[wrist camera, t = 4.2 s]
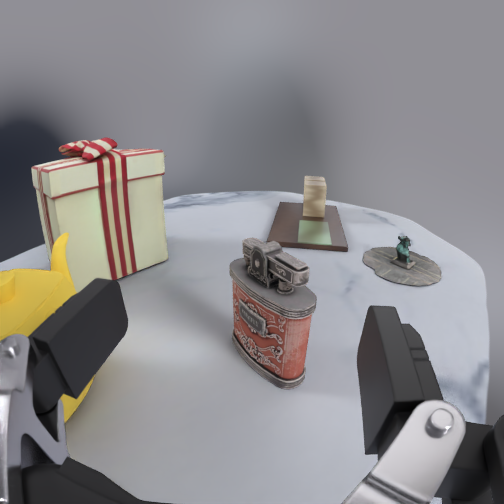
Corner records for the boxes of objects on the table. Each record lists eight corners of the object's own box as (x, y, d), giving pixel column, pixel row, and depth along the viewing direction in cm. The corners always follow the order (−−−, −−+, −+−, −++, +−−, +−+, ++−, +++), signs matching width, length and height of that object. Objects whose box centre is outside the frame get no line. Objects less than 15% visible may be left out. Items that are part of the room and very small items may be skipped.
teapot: (-10, 353, 21) (-50, 263, 16) (91, 317, 28) (66, 224, 24) (0, 462, 11) (-86, 355, 7) (141, 410, 19) (100, 289, 14)
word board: (266, 245, 46) (267, 201, 43) (279, 205, 65) (280, 174, 62) (347, 251, 44) (353, 207, 41) (335, 209, 63) (338, 178, 61)
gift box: (192, 250, 44) (186, 128, 37) (79, 303, 30) (48, 149, 23) (130, 227, 53) (121, 133, 46) (40, 262, 40) (20, 153, 32)
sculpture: (363, 244, 47) (400, 213, 43) (397, 285, 47) (433, 256, 43) (361, 274, 36) (410, 235, 33) (401, 323, 36) (449, 288, 33)
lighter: (223, 339, 27) (218, 233, 22) (254, 326, 28) (256, 224, 24) (280, 396, 21) (292, 278, 16) (314, 376, 22) (333, 262, 18)
